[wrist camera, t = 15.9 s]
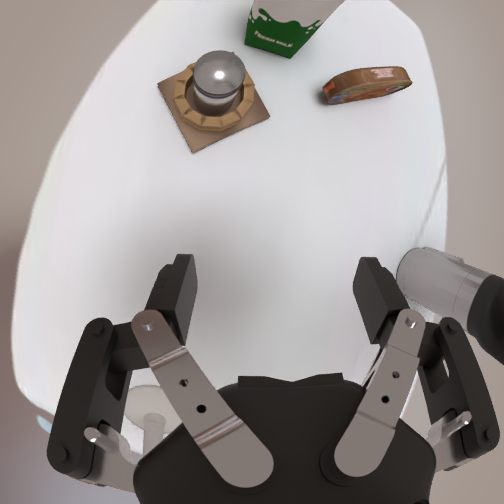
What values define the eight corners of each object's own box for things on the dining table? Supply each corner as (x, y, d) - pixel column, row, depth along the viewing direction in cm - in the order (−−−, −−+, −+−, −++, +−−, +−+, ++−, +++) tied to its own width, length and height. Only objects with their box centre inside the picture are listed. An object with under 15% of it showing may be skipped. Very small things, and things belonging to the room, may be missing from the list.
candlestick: (192, 432, 43) (207, 569, 14) (128, 427, 40) (114, 558, 12) (189, 387, 40) (202, 557, 12) (116, 381, 38) (78, 538, 9)
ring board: (232, 55, 30) (236, 42, 26) (268, 118, 33) (276, 110, 29) (158, 86, 29) (154, 75, 26) (193, 153, 33) (192, 149, 29)
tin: (318, 108, 34) (347, 91, 26) (310, 89, 33) (337, 68, 25) (391, 95, 36) (423, 84, 28) (384, 79, 35) (415, 65, 27)
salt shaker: (223, 75, 30) (231, 43, 21) (241, 106, 31) (255, 81, 23) (186, 91, 29) (184, 61, 21) (204, 123, 31) (206, 101, 22)
